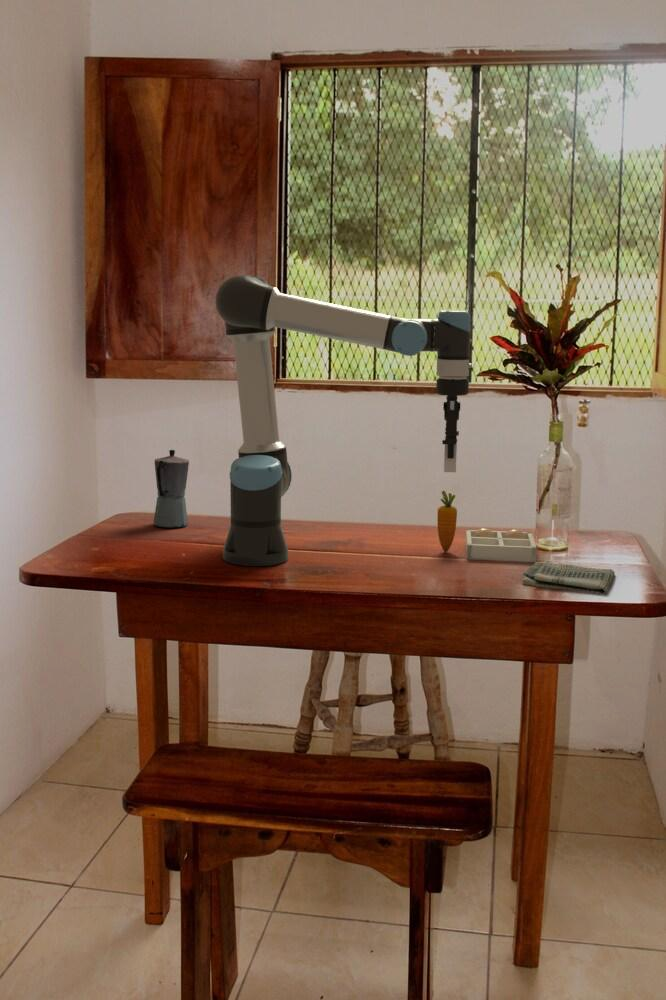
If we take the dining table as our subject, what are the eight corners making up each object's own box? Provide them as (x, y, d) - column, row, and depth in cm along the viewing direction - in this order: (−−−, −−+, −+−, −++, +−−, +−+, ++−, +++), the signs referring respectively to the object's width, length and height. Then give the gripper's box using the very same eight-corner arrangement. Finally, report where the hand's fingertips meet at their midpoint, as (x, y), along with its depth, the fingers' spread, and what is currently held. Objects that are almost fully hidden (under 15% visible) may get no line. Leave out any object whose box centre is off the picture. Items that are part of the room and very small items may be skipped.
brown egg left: (493, 548, 257) (494, 530, 256) (474, 548, 257) (475, 529, 256) (492, 544, 261) (493, 526, 260) (473, 543, 262) (474, 525, 261)
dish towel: (616, 576, 237) (617, 563, 237) (606, 597, 221) (607, 583, 220) (533, 567, 244) (534, 554, 243) (518, 587, 227) (519, 573, 227)
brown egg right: (524, 550, 256) (525, 531, 255) (505, 549, 256) (506, 531, 255) (523, 545, 260) (524, 527, 259) (504, 544, 261) (505, 526, 260)
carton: (535, 562, 247) (536, 547, 246) (466, 559, 248) (467, 544, 247) (530, 546, 262) (531, 532, 261) (465, 543, 264) (466, 529, 263)
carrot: (459, 554, 253) (461, 492, 250) (439, 555, 252) (442, 493, 249) (451, 549, 258) (453, 489, 255) (432, 550, 256) (434, 489, 253)
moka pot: (197, 520, 284) (196, 447, 280) (178, 533, 269) (177, 455, 265) (163, 518, 286) (162, 445, 282) (143, 531, 271) (141, 454, 267)
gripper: (470, 382, 234) (466, 476, 238) (467, 373, 258) (464, 459, 262) (436, 381, 234) (433, 475, 239) (437, 373, 259) (434, 458, 263)
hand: (449, 467), depth 250 cm, fingers open, 13 cm apart
